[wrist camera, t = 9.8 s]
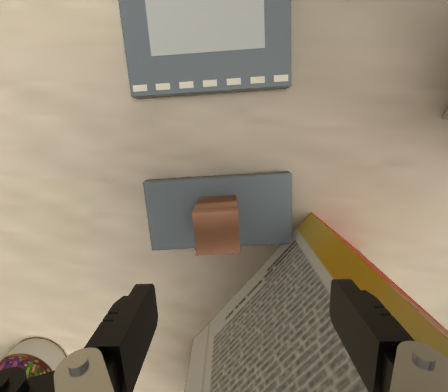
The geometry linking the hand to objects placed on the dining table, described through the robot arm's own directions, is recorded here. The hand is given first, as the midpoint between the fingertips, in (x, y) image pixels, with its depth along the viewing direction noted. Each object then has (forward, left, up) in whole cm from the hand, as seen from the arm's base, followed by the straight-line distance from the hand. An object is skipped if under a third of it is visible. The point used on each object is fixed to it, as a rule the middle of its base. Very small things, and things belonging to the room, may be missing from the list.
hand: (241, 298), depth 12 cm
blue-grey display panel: (-19, -2, -19) cm, 27 cm away
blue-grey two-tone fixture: (+1, -2, -19) cm, 19 cm away
